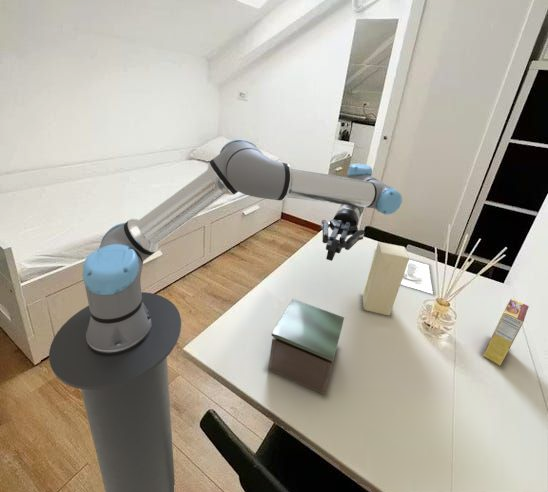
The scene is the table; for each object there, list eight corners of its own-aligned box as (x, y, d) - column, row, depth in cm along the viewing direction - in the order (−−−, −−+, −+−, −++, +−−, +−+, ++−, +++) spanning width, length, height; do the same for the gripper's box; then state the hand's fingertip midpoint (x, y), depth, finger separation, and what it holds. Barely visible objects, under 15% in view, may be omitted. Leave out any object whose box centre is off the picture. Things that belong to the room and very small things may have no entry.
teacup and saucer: (396, 276, 109) (399, 267, 107) (396, 265, 115) (399, 256, 114) (421, 283, 106) (424, 274, 104) (420, 272, 113) (423, 263, 111)
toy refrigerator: (387, 300, 96) (404, 245, 87) (390, 316, 89) (409, 258, 81) (362, 294, 97) (377, 240, 89) (363, 310, 90) (380, 252, 82)
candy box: (489, 338, 84) (511, 297, 78) (507, 348, 82) (531, 306, 76) (481, 355, 79) (504, 311, 73) (499, 366, 76) (525, 322, 70)
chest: (324, 395, 64) (332, 364, 60) (268, 369, 68) (272, 339, 65) (336, 348, 76) (343, 320, 72) (287, 329, 80) (292, 301, 76)
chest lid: (332, 361, 59) (333, 358, 59) (271, 336, 63) (271, 333, 63) (343, 320, 72) (344, 317, 72) (292, 301, 76) (292, 298, 76)
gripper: (364, 235, 91) (353, 276, 71) (324, 225, 96) (302, 260, 75) (370, 214, 88) (360, 250, 68) (328, 204, 93) (307, 235, 72)
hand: (330, 255), depth 72 cm, fingers closed
